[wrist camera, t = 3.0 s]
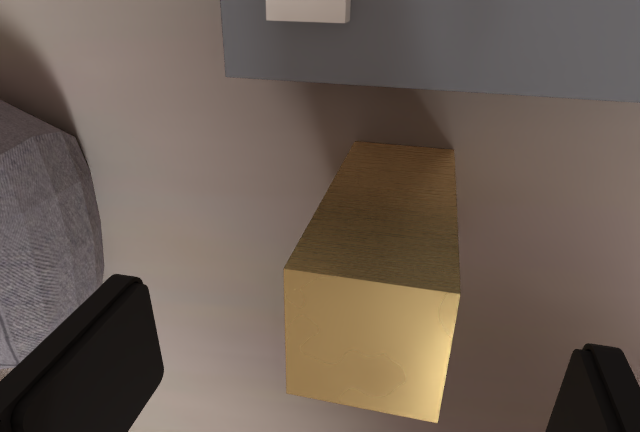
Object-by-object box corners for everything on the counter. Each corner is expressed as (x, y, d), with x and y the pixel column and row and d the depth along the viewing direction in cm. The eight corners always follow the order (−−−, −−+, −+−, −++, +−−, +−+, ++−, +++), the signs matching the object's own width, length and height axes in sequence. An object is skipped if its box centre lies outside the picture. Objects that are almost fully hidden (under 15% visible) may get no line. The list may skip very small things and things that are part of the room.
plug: (454, 149, 19) (460, 293, 10) (441, 237, 21) (437, 423, 12) (355, 141, 20) (283, 268, 11) (350, 226, 22) (286, 393, 13)
